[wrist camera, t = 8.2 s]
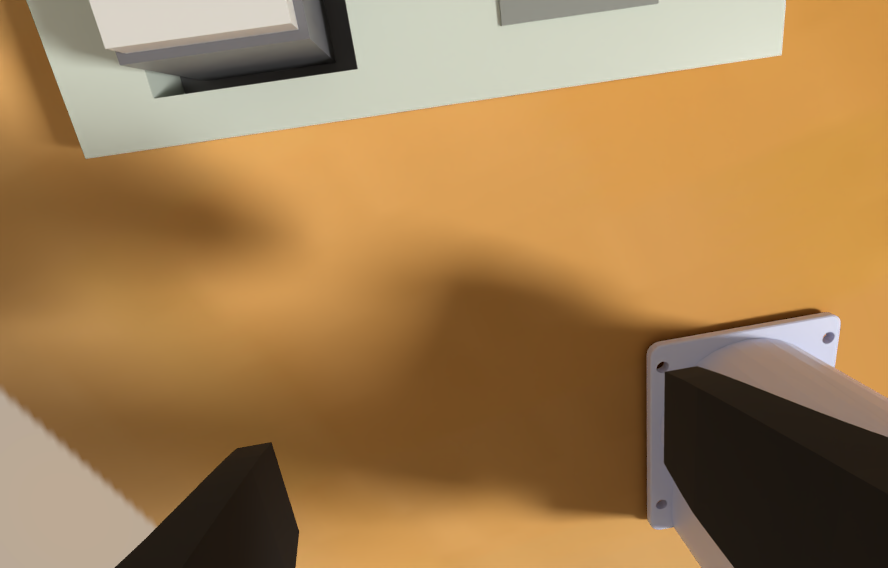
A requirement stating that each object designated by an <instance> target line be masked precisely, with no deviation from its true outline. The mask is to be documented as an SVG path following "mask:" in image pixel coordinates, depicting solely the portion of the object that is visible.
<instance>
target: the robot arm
mask: <svg viewBox="0 0 888 568" xmlns="http://www.w3.org/2000/svg"><path fill="white" fill-rule="evenodd" d="M840 326H841V322H840V319H839V317H837V316H835V315H833V314H831V313H829V312H823V313H818V314H812V315H806V316H801V317H795V318H789V319H784V320H778V321H772V322H767V323H761V324H755V325H749V326H744V327H738V328H732V329H727V330H721V331H715V332H710V333H704V334H698V335H693V336H687V337H681V338H676V339H670V340H664V341H659V342H656V343H654V344H652V345H651V346H650V347H649V349H648V350H647V519H648V522H649V523H650V525H651V526H652V527H653V528H654V529H666V528H671V527H674V528H675V530H676V531H677V532H678V534H679V535H680V537H681V538H682V540H683V541H684V543H685V544H686V546H687V547H688V549H689V550H690V551H691V553H692V554H693V556H694V557H695V559H696V560H697V562H698V563H699V565H700V566H701V568H888V398H886V397H885V396H883V395H881V394H879V393H878V392H876V391H874V390H872V389H871V388H869V387H867V386H865V385H864V384H862V383H860V382H858V381H857V380H855V379H853V378H851V377H850V376H848V375H846V374H844V373H843V372H841V371H839V370H837V369H836V368H835V361H836V354H837V347H838V340H839V333H840ZM825 334H826V336H825V337H824V338H823V336H824V335H825ZM822 338H823V339H822ZM661 362H664V364H663V366H662V367H661V368H658V369H656V368H657V365H658V364H659V363H661ZM660 500H661V501H660ZM658 501H660V502H658ZM657 502H658V503H657ZM298 537H299V530H298V527H297V523H296V520H295V517H294V514H293V511H292V507H291V504H290V501H289V498H288V494H287V491H286V488H285V485H284V481H283V478H282V475H281V472H280V469H279V465H278V462H277V459H276V456H275V452H274V449H273V446H272V443H271V442H270V443H265V444H259V445H253V446H248V447H242V448H237V449H236V450H235V451H234V452H232V453H231V454H230V455H229V456H228V457H227V458H226V459H225V460H224V461H223V462H222V463H221V464H220V465H219V466H218V467H217V468H216V469H215V470H214V471H213V472H212V473H211V474H210V475H209V476H208V477H207V478H206V479H205V480H204V481H203V482H202V483H201V484H200V485H199V486H198V487H197V488H196V489H195V490H194V491H193V492H192V493H191V494H190V495H189V496H188V497H187V498H186V499H185V500H184V501H183V502H182V503H181V504H180V505H179V506H178V507H177V508H176V509H175V510H174V511H173V512H172V513H171V514H170V515H169V516H168V517H167V518H166V519H165V520H164V521H163V522H162V523H161V524H160V525H159V526H158V527H157V528H156V529H155V530H154V531H153V532H152V533H151V534H150V535H149V536H148V537H147V538H146V539H145V540H144V541H143V542H142V543H141V544H140V545H138V546H137V547H136V548H135V549H134V550H133V551H132V552H131V553H130V554H129V555H128V556H127V557H126V558H125V559H124V560H123V561H121V562H120V563H119V564H118V565H117V566H116V567H115V568H295V566H296V556H297V546H298Z"/></svg>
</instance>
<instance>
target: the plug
mask: <svg viewBox="0 0 888 568" xmlns="http://www.w3.org/2000/svg"><path fill="white" fill-rule="evenodd" d="M89 2H90V5H91V8H92V11H93V14H94V17H95V20H96V23H97V26H98V29H99V32H100V35H101V38H102V41H103V43H104V46H105V49H108V50H113V51H115V52H116V55H117V58H118V61H119V64H120V65H121V66H126V67H132V68H137V69H143V70H148V71H154V72H159V73H165V74H170V75H176V76H181V77H187V78H192V79H198V80H203V81H212V80H219V79H226V78H233V77H240V76H247V75H254V74H261V73H268V72H275V71H282V70H289V69H296V68H303V67H310V66H317V65H324V64H331V63H336V61H335V55H334V50H333V45H332V40H331V35H330V30H329V25H328V20H327V15H326V9H325V4H324V0H89Z"/></svg>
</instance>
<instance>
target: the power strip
mask: <svg viewBox="0 0 888 568" xmlns="http://www.w3.org/2000/svg"><path fill="white" fill-rule="evenodd" d="M26 1H27V4H28V6H29V9H30V12H31V14H32V17H33V20H34V22H35V25H36V28H37V30H38V33H39V36H40V38H41V41H42V44H43V46H44V49H45V52H46V54H47V57H48V60H49V62H50V65H51V68H52V70H53V73H54V76H55V78H56V81H57V84H58V86H59V89H60V92H61V95H62V97H63V100H64V103H65V105H66V108H67V111H68V113H69V116H70V119H71V121H72V124H73V127H74V129H75V132H76V135H77V137H78V140H79V143H80V145H81V148H82V151H83V153H84V156H85V159H89V158H96V157H103V156H110V155H117V154H124V153H130V152H137V151H144V150H151V149H157V148H164V147H171V146H177V145H184V144H191V143H197V142H204V141H211V140H218V139H224V138H231V137H238V136H244V135H251V134H258V133H264V132H271V131H278V130H285V129H291V128H298V127H305V126H311V125H318V124H325V123H331V122H338V121H345V120H352V119H358V118H365V117H372V116H378V115H385V114H392V113H398V112H405V111H412V110H419V109H425V108H432V107H439V106H445V105H452V104H459V103H465V102H472V101H479V100H485V99H492V98H499V97H506V96H512V95H519V94H526V93H532V92H539V91H546V90H552V89H559V88H566V87H573V86H579V85H586V84H593V83H599V82H606V81H613V80H619V79H626V78H633V77H640V76H646V75H653V74H660V73H666V72H673V71H680V70H686V69H693V68H700V67H707V66H713V65H720V64H727V63H733V62H740V61H746V60H753V59H759V58H766V57H772V56H779V55H782V44H783V31H784V19H785V7H786V0H324V4H325V9H326V15H327V20H328V25H329V30H330V35H331V40H332V45H333V50H334V55H335V61H336V63H331V64H324V65H317V66H310V67H303V68H296V69H289V70H282V71H275V72H268V73H261V74H254V75H247V76H240V77H233V78H226V79H219V80H212V81H203V80H198V79H192V78H187V77H181V76H176V75H170V74H165V73H159V72H154V71H148V70H143V69H137V68H132V67H126V66H121V65H120V64H119V61H118V58H117V55H116V52H115V51H113V50H108V49H105V46H104V43H103V41H102V38H101V35H100V32H99V29H98V26H97V23H96V20H95V17H94V14H93V11H92V8H91V5H90V2H89V0H26Z"/></svg>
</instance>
